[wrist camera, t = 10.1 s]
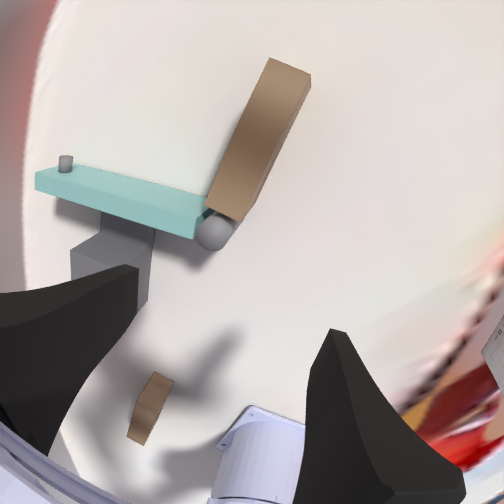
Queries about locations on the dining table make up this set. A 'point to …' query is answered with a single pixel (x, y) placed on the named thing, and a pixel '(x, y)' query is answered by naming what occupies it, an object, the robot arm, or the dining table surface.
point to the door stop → (116, 251)
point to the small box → (496, 354)
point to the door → (138, 202)
